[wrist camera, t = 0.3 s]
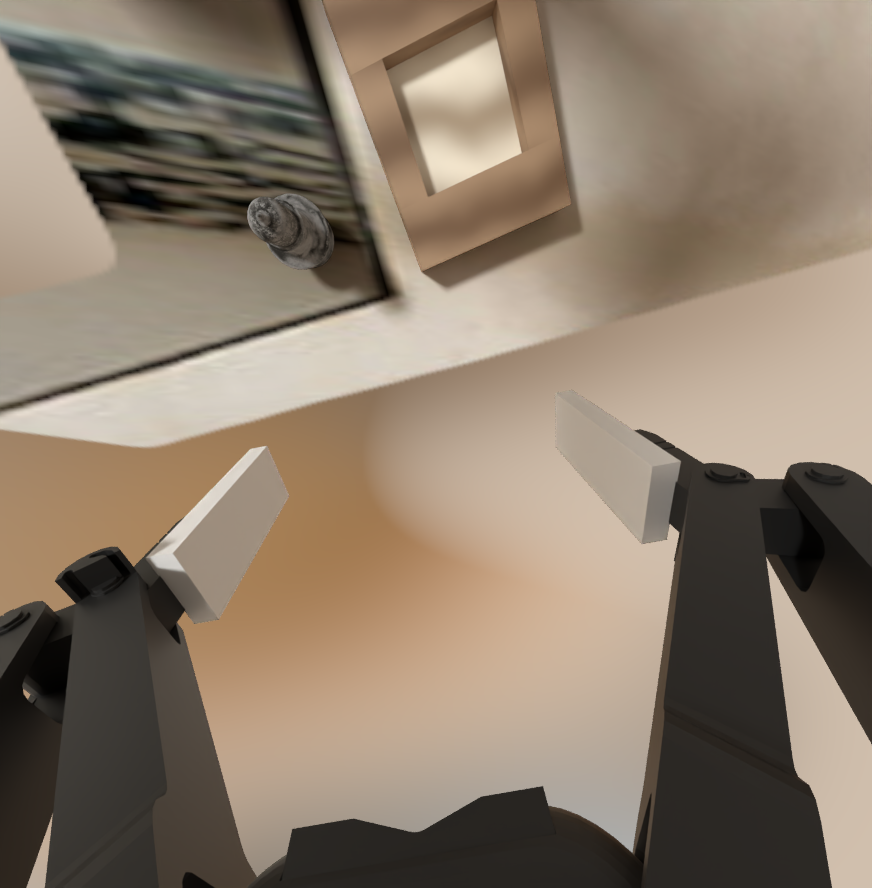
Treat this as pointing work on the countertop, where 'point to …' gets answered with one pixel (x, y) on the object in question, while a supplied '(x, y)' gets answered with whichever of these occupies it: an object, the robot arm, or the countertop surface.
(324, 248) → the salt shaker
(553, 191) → the wooden frame
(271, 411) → the countertop surface
